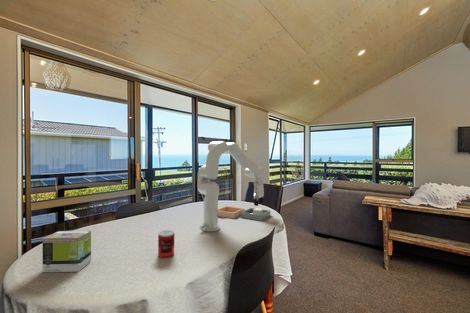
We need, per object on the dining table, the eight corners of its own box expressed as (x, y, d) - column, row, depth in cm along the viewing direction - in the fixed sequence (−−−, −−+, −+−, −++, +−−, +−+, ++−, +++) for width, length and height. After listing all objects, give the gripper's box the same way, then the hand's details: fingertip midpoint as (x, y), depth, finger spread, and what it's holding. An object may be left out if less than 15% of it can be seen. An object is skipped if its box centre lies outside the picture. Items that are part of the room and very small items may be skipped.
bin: (261, 222, 173) (261, 215, 173) (240, 218, 182) (240, 212, 182) (270, 216, 189) (270, 210, 189) (250, 213, 198) (250, 207, 197)
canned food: (168, 250, 122) (168, 229, 122) (177, 254, 117) (177, 232, 117) (154, 254, 116) (155, 232, 116) (164, 259, 111) (164, 236, 111)
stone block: (260, 218, 180) (260, 210, 180) (252, 217, 183) (253, 209, 183) (262, 216, 185) (263, 209, 185) (256, 215, 188) (256, 208, 188)
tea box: (91, 261, 108) (91, 230, 108) (78, 272, 98) (78, 237, 98) (58, 261, 108) (58, 230, 107) (41, 273, 98) (41, 237, 97)
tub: (233, 219, 179) (234, 213, 179) (214, 216, 188) (214, 210, 188) (244, 214, 195) (244, 208, 195) (226, 211, 203) (226, 205, 203)
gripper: (258, 184, 175) (258, 207, 175) (267, 181, 190) (267, 202, 190) (249, 183, 178) (249, 206, 179) (258, 181, 193) (258, 201, 194)
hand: (258, 204), depth 184 cm, fingers open, 9 cm apart
